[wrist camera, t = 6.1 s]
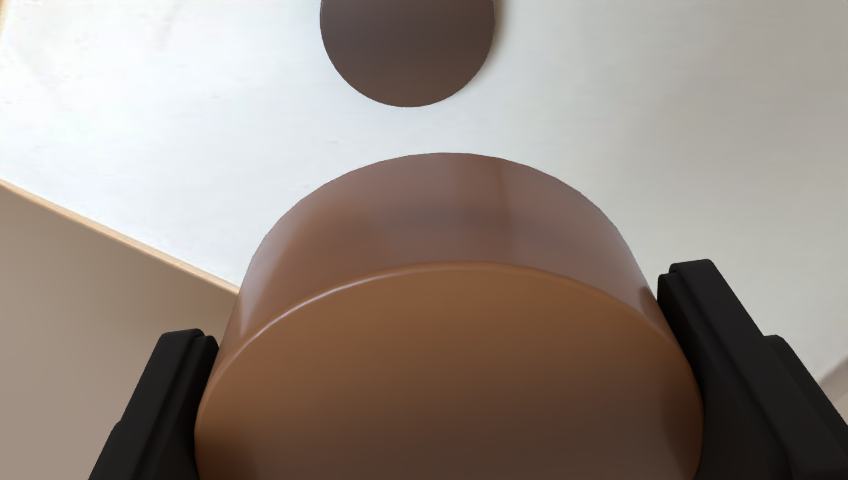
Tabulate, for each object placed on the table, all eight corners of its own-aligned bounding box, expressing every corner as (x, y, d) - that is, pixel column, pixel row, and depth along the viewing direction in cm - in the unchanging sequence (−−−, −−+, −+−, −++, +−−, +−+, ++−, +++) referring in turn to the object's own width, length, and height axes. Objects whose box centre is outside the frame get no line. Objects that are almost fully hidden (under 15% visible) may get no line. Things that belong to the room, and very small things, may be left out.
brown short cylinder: (180, 186, 10) (106, 310, 8) (647, 117, 10) (731, 223, 7) (296, 483, 14) (272, 632, 11) (638, 442, 13) (692, 588, 11)
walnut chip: (304, -60, 32) (300, -55, 30) (483, -90, 31) (486, -86, 30) (342, 108, 36) (340, 119, 35) (498, 84, 36) (502, 95, 35)
